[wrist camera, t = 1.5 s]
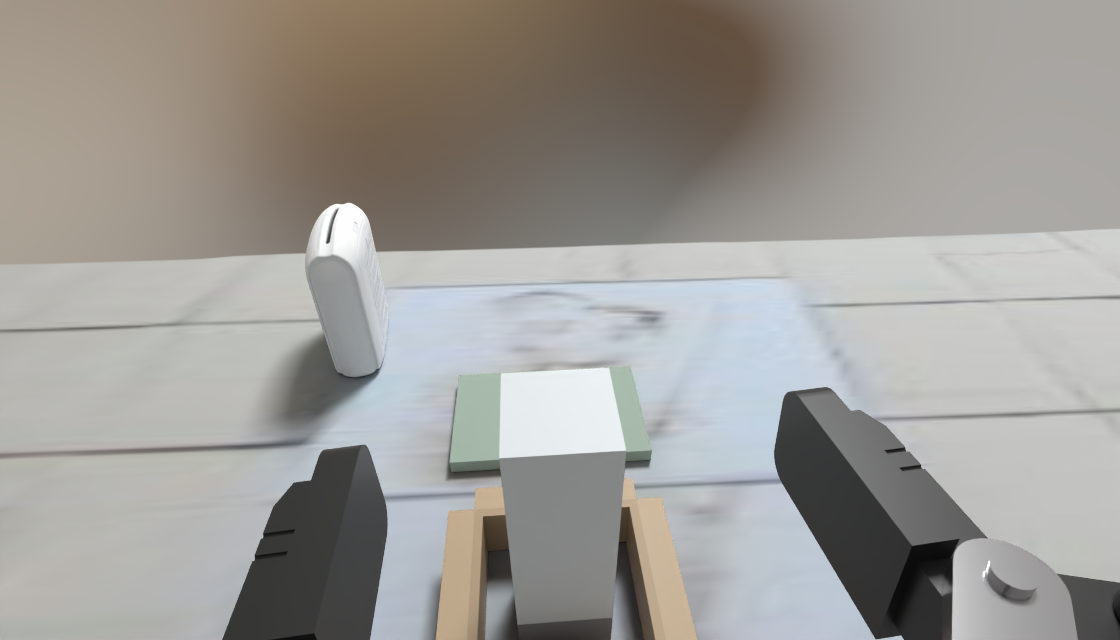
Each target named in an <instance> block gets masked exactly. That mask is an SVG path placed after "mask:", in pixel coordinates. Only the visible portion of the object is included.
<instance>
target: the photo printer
mask: <svg viewBox="0 0 1120 640" xmlns="http://www.w3.org/2000/svg"><path fill="white" fill-rule="evenodd" d="M305 269H306V276H307V280H308V283H309V287H310V290H311V293H312V296H313V300H314V303H315V306H316V309H317V313H318V316H319V319H320V322H321V325H322V329H323V332H324V335H325V338H326V341H327V344H328V348H329V351H330V354H331V357H332V360H333V363H334V366H335V368H336V370H337V372H338V373H343V375H345V376H348V377H360V376H365V375H368V374H371V373H373V372H375V370H376V369H379V368H380V367H381V364H382V362H383V358H384V353H385V347H386V340H387V332H388V324H389V308H388V303H387V299H386V294H385V290H384V286H383V281H382V277H381V273H380V268H379V264H378V259H377V255H376V250H375V246H374V242H373V237H372V233H371V229H370V224H369V221H368V219H367V217H366V215H365V214H364V212H363V211H362V210H361V209H360V208H358V207H357V206H355V205H353V204H351V203H346V204H344V205H339V204H336V205H332V206H330V207H329V208H327V209H326V210H325V211H324V212H323V213H322V214H321V215H320V216H319V218H318V220H317V221H316V223H315V225H314V227H313V230H312V232H311V235H310V238H309V243H308V246H307V252H306V260H305Z"/></svg>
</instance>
